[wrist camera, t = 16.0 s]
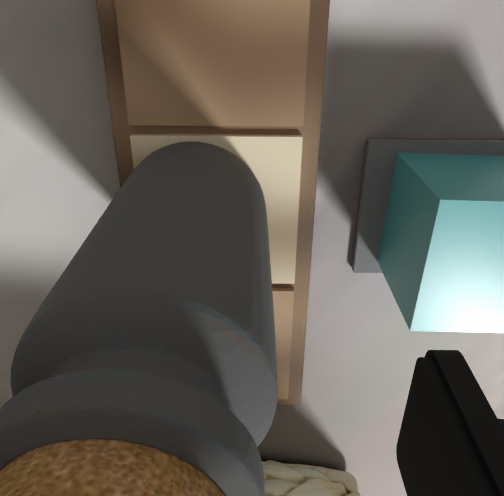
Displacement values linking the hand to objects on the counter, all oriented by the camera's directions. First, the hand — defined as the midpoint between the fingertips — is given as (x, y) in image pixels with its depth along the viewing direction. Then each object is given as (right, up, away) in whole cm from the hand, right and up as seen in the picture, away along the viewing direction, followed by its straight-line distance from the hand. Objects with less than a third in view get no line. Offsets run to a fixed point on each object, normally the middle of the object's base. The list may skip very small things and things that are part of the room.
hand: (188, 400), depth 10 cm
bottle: (-1, +5, +10) cm, 11 cm away
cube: (+9, +5, +10) cm, 15 cm away
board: (0, +5, +11) cm, 12 cm away
